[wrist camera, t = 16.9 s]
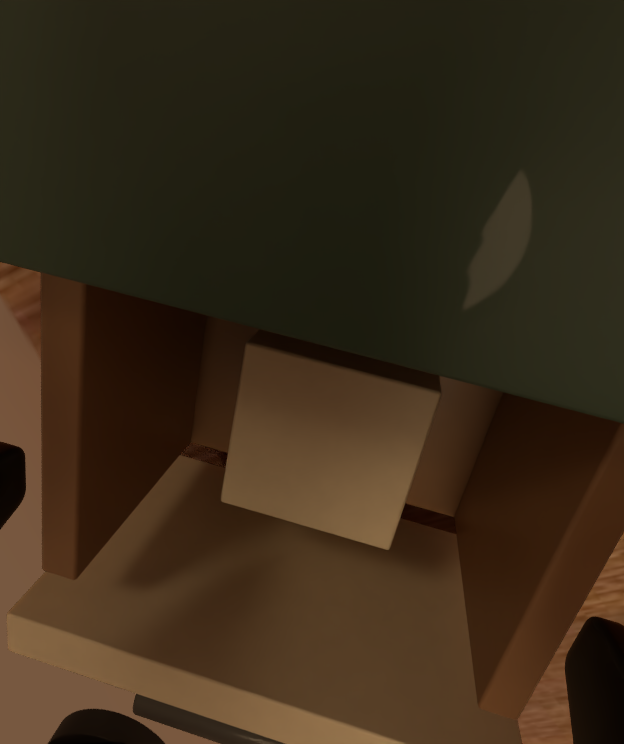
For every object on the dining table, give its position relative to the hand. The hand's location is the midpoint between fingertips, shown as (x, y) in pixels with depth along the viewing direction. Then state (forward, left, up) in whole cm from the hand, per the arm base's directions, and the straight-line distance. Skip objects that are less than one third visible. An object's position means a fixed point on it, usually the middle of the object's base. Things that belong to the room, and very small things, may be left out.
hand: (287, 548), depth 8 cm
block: (0, 0, -7) cm, 7 cm away
